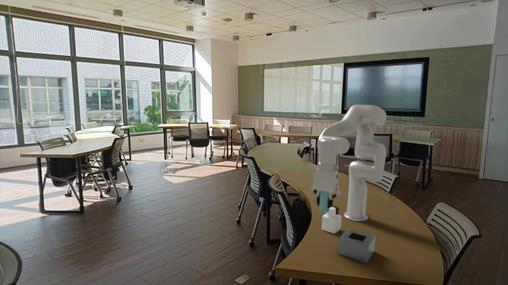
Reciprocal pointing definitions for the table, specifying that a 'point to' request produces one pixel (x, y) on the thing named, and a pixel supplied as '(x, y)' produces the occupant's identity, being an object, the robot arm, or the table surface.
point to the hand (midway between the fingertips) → (324, 205)
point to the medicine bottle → (331, 220)
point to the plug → (324, 202)
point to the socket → (356, 245)
